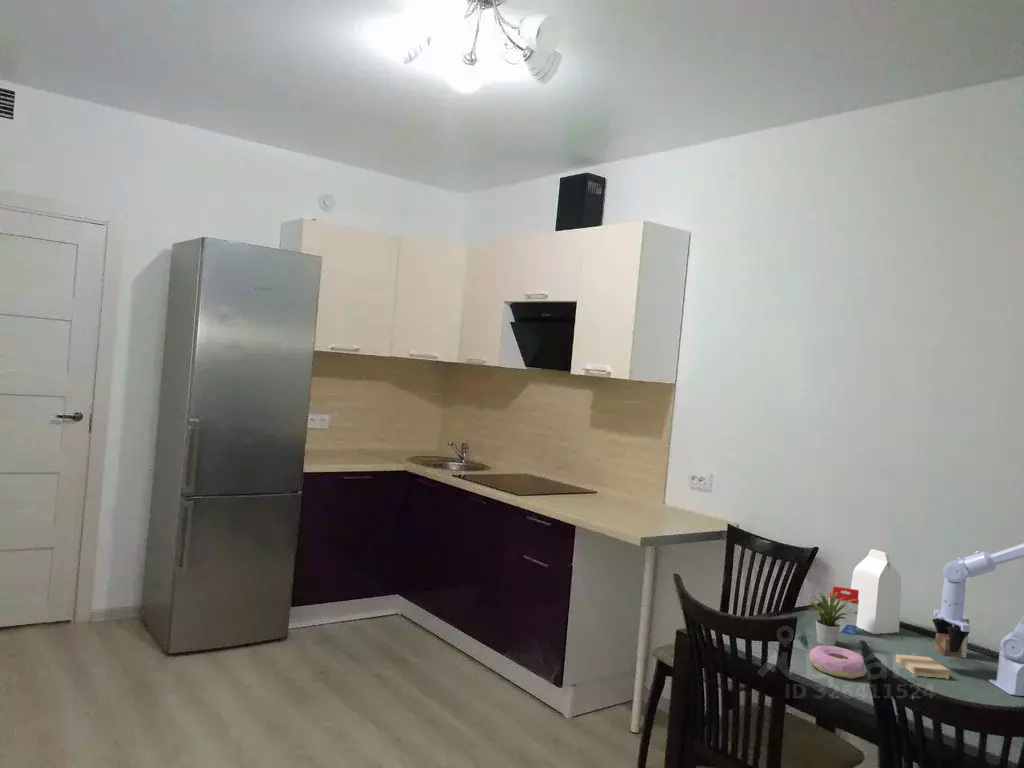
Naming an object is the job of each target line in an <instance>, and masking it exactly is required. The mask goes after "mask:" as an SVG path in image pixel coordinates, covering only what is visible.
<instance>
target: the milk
mask: <svg viewBox="0 0 1024 768" xmlns="http://www.w3.org/2000/svg"><path fill="white" fill-rule="evenodd" d="M851 577H852V578H851V584H850V589H855V590H859V595H858V600H859V603H858V614H857V624H856V626H857V627H856V628H858V629H862V630H863V629H864V631H866V632H868V633H870V634H873V635H876V634H877V635H879V634H880V633H881V634H895V632H897V633H900V615H901V593H902V591H901V590H902V577H901V574H900V573H899V571H898V570H897V569H896V567H894V565H893V564H892V563H891V560H890V556H889V553H888V552H884V551H881V550H878V549H875V548H873V549H872V548H871V549H870V550H869V552H868V553H867V556H866V557H865V558H863V560H861V561H860V562H859V563H858V564H857V565H856V566H855V567H854V569H853V572H852V576H851Z"/></svg>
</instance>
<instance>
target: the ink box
mask: <svg viewBox="0 0 1024 768" xmlns="http://www.w3.org/2000/svg"><path fill="white" fill-rule="evenodd" d="M845 591H846V592H848V593H846V592H845ZM836 592H837V597H836V599H835V602H834V605H836V603H837V602H838V600H839V599H841V598H842V599H841V601H840V603H839V605H838V607H837V609H838V608H839V606H840V605H842V604H843V603H844V602H846V601H848V600H853V601H850V602H848V603H846V604H845V605H846V606H845V605H844V606H845V607H844V608H842V609H841V610H840V611H839V612H838V613H837V615H839V614H841V613H845V614H847V615H842V616H840V617H845V618H847V619H838V620H836V621H835V622H836V623H838V624H839V625H840V629H839V632H838V633H844V634H851V635H856V634H857V627H856V624H857V614H858V603H859V600H858V595H859V590H855V589H851V588H847V587H843V586H842V587H841V586H840V587H839V586H835V585H834V586H832V591H829V592H828V593H829V595H828V596H829V597H828V605H829V606H830V593H831V595H832V597H833V595H834V594H835V593H836ZM847 604H848V605H847ZM833 613H834V612H833ZM837 615H836V616H837ZM832 616H833V615H832Z"/></svg>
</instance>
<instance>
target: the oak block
mask: <svg viewBox="0 0 1024 768" xmlns="http://www.w3.org/2000/svg"><path fill="white" fill-rule="evenodd" d="M895 661H896V662H897V663H899V664H901V665H902V666H903V667H905V668H906V669H908V670H909V671H910V672H912V673H913V674H914V675H919V676H927V677H939V678H946V679H945V680H949V679H950V672H951V671H950V669H948V668H947V667H945V666H944V665H942V664H941V663H939V662H937V661H936V660H934V659H933V658H932V657H930V656H924V655H923V656H921V655H911V654H910V655H908V654H900V653H899V654H898V653H897V654H895ZM927 677H926V678H927Z"/></svg>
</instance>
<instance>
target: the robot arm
mask: <svg viewBox="0 0 1024 768" xmlns="http://www.w3.org/2000/svg"><path fill="white" fill-rule="evenodd" d="M1023 558H1024V542H1022V543H1021V544H1017V545H1015V546H1014V545H1013V546H1012V547H1011V546H1010V547H1008V548H1005V549H1003V550H1000V551H996V552H994V553H990V552H987V551H980V550H976V551H974V552H973V554H972V555H968V556H965V557H962V556H959V557H957V559H956V560H950V561H949V562H947V563H946V564H944V566H943V568H942V573H943V576H944V577H943V584H942V594H941V603H940V605H941V606H940V609H937V608H936V609H935V608H934V609H933V616H934V617H936V618H932V622H933V625H934V627H935V630H936V633H940V634H949V639H950V651H951V652H959V649H960V647H961V644H962V642H963V640H964V639H965V637H966V636H967V635H968V636H969V635H970V630H971V629H970V628H971V625H970V623H969V624H967V623H966V622H965V620H964V619H963V615H964V610H965V608H964V607H965V597H966V579H967V578H975V577H977V576H981V575H984V574H985V575H986V574H988V573H992V572H994V571H995V570H996V567H997V565H1001V564H1005V563H1008V562H1013V561H1016V560H1019V559H1023ZM953 625H954V627H952V626H953ZM999 645H1000V646H999V648H1000V650H999V654H998V655H999V656H998V663H997V664H998V665H997V672H996V673H997V674H996V679H988V681H989V683H991V684H993V685H995V686H996V687H998V688H999V689H1001V690H1002V691H1003V692H1005V693H1007V694H1008V695H1011V696H1019V697H1024V616H1023V617H1022V618H1021V619H1020V621H1019V622H1018V624H1017V625H1016V627H1015V628H1014V629H1012V630H1009V631H1008V632H1007V633H1006V634H1005V636H1004V637H1003V638H1002V639H1001V640H1000V644H999Z"/></svg>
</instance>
